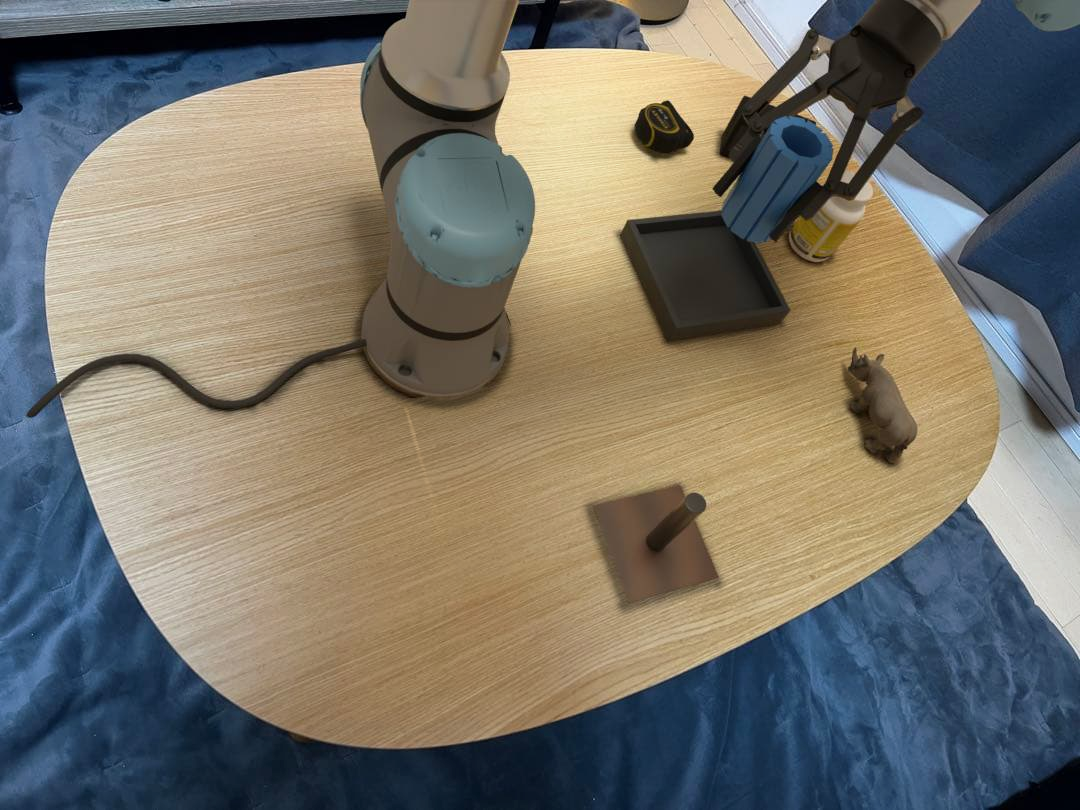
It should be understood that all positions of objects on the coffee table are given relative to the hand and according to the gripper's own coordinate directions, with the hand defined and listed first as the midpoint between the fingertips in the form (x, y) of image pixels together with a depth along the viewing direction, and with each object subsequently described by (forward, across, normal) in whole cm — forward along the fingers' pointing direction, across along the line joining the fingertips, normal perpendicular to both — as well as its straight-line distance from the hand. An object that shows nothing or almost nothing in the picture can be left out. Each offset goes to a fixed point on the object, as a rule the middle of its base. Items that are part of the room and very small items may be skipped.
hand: (744, 215), depth 84 cm
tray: (+8, +2, -16) cm, 18 cm away
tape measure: (-3, +20, -27) cm, 34 cm away
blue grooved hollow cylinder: (0, 0, -5) cm, 5 cm away
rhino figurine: (+7, -23, -17) cm, 30 cm away
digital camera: (-9, +9, -33) cm, 36 cm away
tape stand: (+30, -15, +6) cm, 34 cm away
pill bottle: (-4, -5, -29) cm, 29 cm away
